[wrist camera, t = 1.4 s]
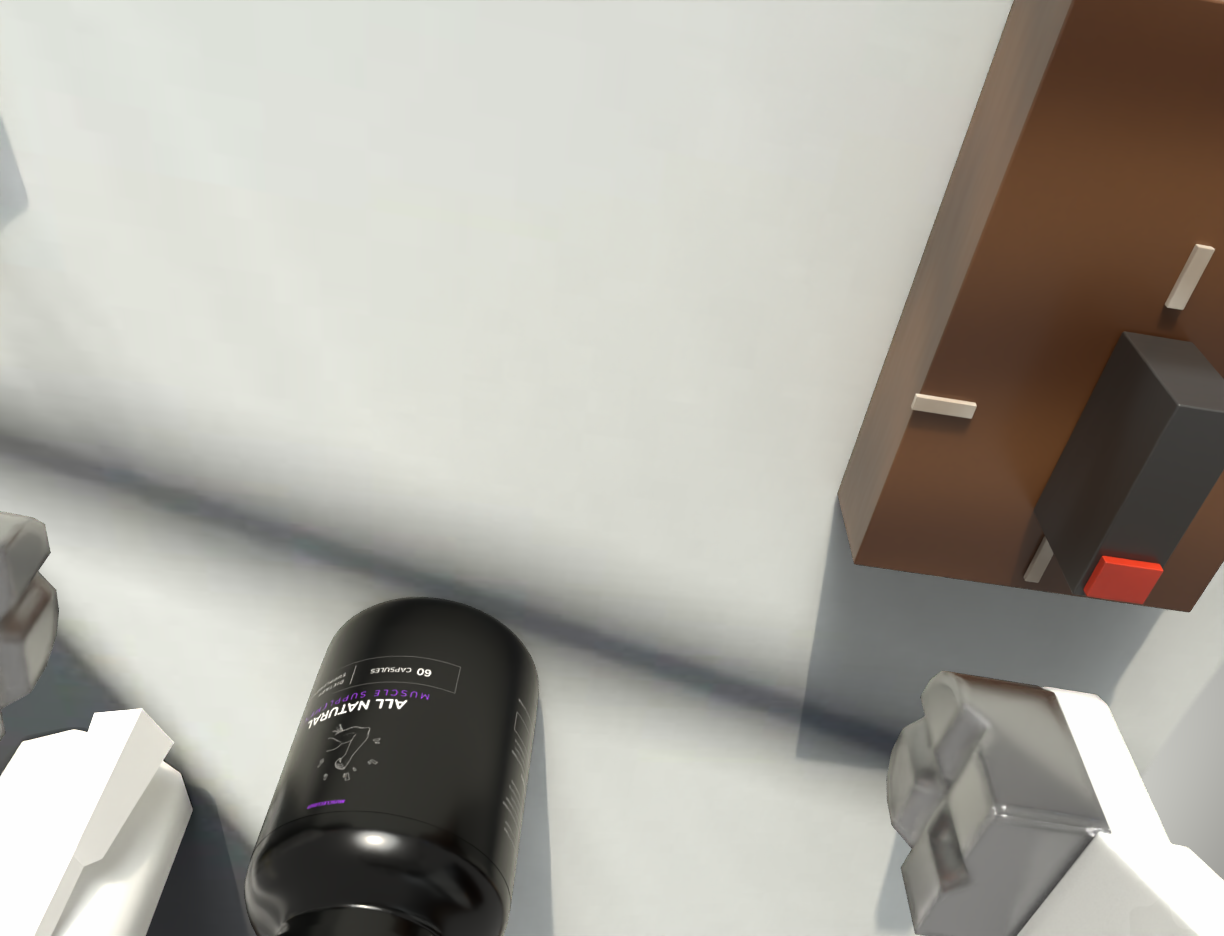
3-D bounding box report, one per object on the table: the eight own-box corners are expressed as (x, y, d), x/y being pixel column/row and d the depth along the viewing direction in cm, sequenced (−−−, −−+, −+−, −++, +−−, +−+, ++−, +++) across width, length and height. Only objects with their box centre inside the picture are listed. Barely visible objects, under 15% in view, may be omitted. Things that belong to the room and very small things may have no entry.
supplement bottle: (388, 552, 31) (268, 939, 21) (581, 651, 33) (552, 1044, 23) (290, 682, 34) (147, 1068, 25) (471, 764, 37) (405, 1149, 27)
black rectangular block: (1122, 329, 23) (1183, 411, 20) (1193, 341, 23) (1263, 424, 20) (1032, 510, 26) (1076, 602, 23) (1095, 519, 26) (1145, 612, 23)
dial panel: (1027, -56, 21) (1079, -24, 19) (1456, 23, 22) (1564, 65, 19) (832, 493, 29) (850, 568, 27) (1149, 540, 30) (1196, 618, 27)
